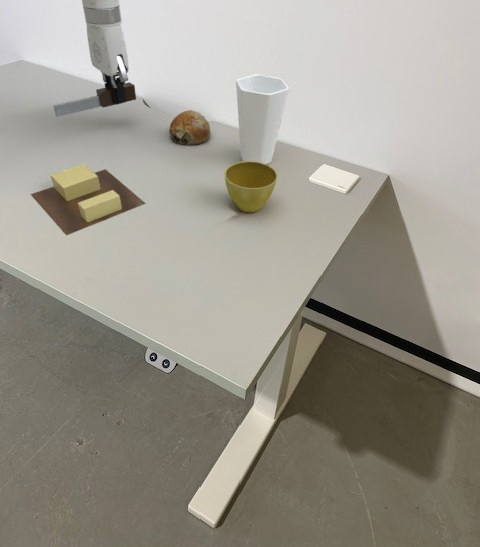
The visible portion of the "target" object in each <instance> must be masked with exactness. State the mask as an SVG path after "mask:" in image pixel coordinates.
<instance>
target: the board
mask: <svg viewBox="0 0 480 547" xmlns="http://www.w3.org/2000/svg"><path fill="white" fill-rule="evenodd" d="M94 173H95V174H96V175H97V176H98V179H99V184H100V190H97V191H95V192H92V193H89V194H86V195H83V196H81V197H78V198H75V199H72V200H69V201H66V200H65V199H64V197H63V196H62V195H61V194H60V193H59V192H58V191H57V190H56V189H55V188H54V186H51V187H48V188H44V189H42V190H38V191H35V192H33V193H30V196H31V197H32V198H33V199H34V200H35V202H36V203H37V204H38V205H39V207H40V208H42V209H43V211H44V212H45V213H46V214H47V215H48V217H50V219H51V220H52V221H53V222H54V224H56V226H58V229H60V230H61V231H62V233H64V235H65V236H69V235H71V234H75V233H76V232H78V231H81V230H84V229H86V228H89V227H91V226H94V225H96V224H98V223H102V222H104V221H106V220H109V219H112V218H113V217H116V216H118V215H121V214H123V213H126V212H128V211H131V210H134V209H136V208H138V207H141V206H143V205H146V202H145V201H144V200H143V199H142V198H140V197H139V196H138V195H136V193H134V192H133V190H131V189H129V187H127V186H126V185H125V184H123V182H121V181H120V180H119V179H118V178H117V177H115V176H114V175H113V174H112V173H111V172H110V171H109V170H107V168H105V169H101V170H98V171H95V172H94ZM111 190H114V191H115V192H116V193H117V194H118V195H119V196H120V201H121V207H122V209H121V210H118V211H116V212H113V213H111V214H108V215H106V216H103V217H101V218H98V219H96V220H93V221H91V222H88V223H87V222H86V221H85V220H84V219H83V217H82V216H81V213H80V210H79V206H78V203H79V202H81V201H84V200H87V199H90V198H92V197H95V196H98V195H101V194H103V193H106V192H109V191H111Z"/></svg>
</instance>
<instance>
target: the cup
mask: <svg viewBox="0 0 480 547" xmlns="http://www.w3.org/2000/svg"><path fill="white" fill-rule="evenodd" d="M235 85H236V86H235V87H236V100H237V101H236V102H237V103H236V104H237V114H238V115H237V117H238V118H237V119H238V132H239V135H238V136H239V146H240V147H239V150H240V158H241V160H242V162H243V161H255V162H260V163H264V164H267V165H269V164H271V163H272V161H273V158H274V153H275V149H276V146H277V142H278V136H279V132H280V128H281V124H282V119H283V115H284V111H285V108H286V103H287V99H288V95H289V92H290V91H289V90H290V87H289V86H288V85H287V83H286V82H285V81H284V80H283V78H281V77H276V76H270V75H264V74H258V73H256V74H251V75H247V76H243V77H240V78H237V79H236V80H235Z"/></svg>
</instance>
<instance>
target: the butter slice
mask: <svg viewBox="0 0 480 547" xmlns="http://www.w3.org/2000/svg"><path fill="white" fill-rule="evenodd" d="M78 206H79V210H80V213H81V216H82V217H83V219H84V220H85V221H86V222H87V223H88V222H91V221H93V220H96V219H98V218H101V217H103V216H106V215H108V214H111V213H113V212H116V211H118V210H121V209H122V207H121V201H120V196H119V195H118V194H117V193H116V192H115V191H114V190H111V191H109V192H106V193H103V194H101V195H98V196H95V197H92V198H90V199H87V200H84V201H81V202H79V203H78Z"/></svg>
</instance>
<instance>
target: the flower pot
mask: <svg viewBox="0 0 480 547" xmlns="http://www.w3.org/2000/svg"><path fill="white" fill-rule="evenodd" d="M223 174H224V181H225V182H224V183H225V186H226V189H227V191H228V194H229V196H230V199H231V201H232V203H234V205H235V206H236V208H237V209H238V210H239V211H241V212H244V213H256V212H258V211H260V210H261V209H262V208H263V207H264V206H265V205H266V203H268V200H269V199H270V198H271V196H272V195H273V194H272V193H273V192H274V189H275V187H276V183H277V181H278V173H277V171H276V169H275V168H274V167H272V166H271V165H269V164H264V163H260V162H255V161H243V160H242V161H238V162H235V163H232V164H231V165H229V166H228V167H227V168H226V169H225V170H224V173H223Z"/></svg>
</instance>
